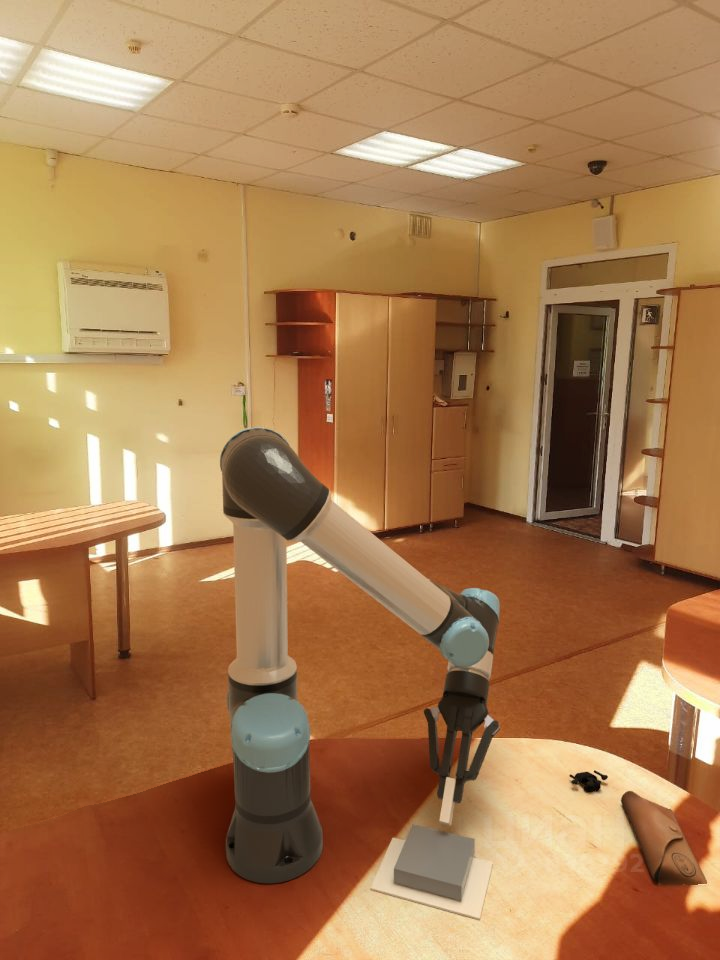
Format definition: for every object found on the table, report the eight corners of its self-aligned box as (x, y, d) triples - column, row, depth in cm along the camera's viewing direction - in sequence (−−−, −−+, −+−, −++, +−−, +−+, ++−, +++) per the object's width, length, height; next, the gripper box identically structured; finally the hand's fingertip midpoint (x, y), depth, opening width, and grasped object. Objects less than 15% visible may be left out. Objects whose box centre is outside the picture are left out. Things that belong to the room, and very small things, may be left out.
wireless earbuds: (597, 768, 126) (613, 776, 121) (599, 782, 126) (614, 790, 121) (562, 774, 125) (577, 782, 120) (564, 788, 124) (579, 797, 120)
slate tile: (412, 838, 110) (393, 884, 101) (412, 823, 109) (393, 868, 100) (474, 853, 107) (461, 902, 97) (474, 838, 106) (461, 886, 97)
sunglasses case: (714, 888, 100) (693, 852, 99) (668, 906, 101) (647, 871, 100) (670, 806, 117) (652, 775, 117) (632, 823, 119) (614, 792, 118)
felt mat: (370, 889, 100) (370, 887, 100) (392, 839, 110) (392, 837, 110) (479, 920, 95) (479, 918, 95) (492, 863, 105) (493, 862, 105)
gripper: (507, 689, 120) (489, 836, 108) (434, 677, 124) (409, 818, 112) (504, 674, 114) (484, 829, 102) (428, 663, 118) (400, 809, 106)
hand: (445, 823), depth 107 cm, fingers closed
